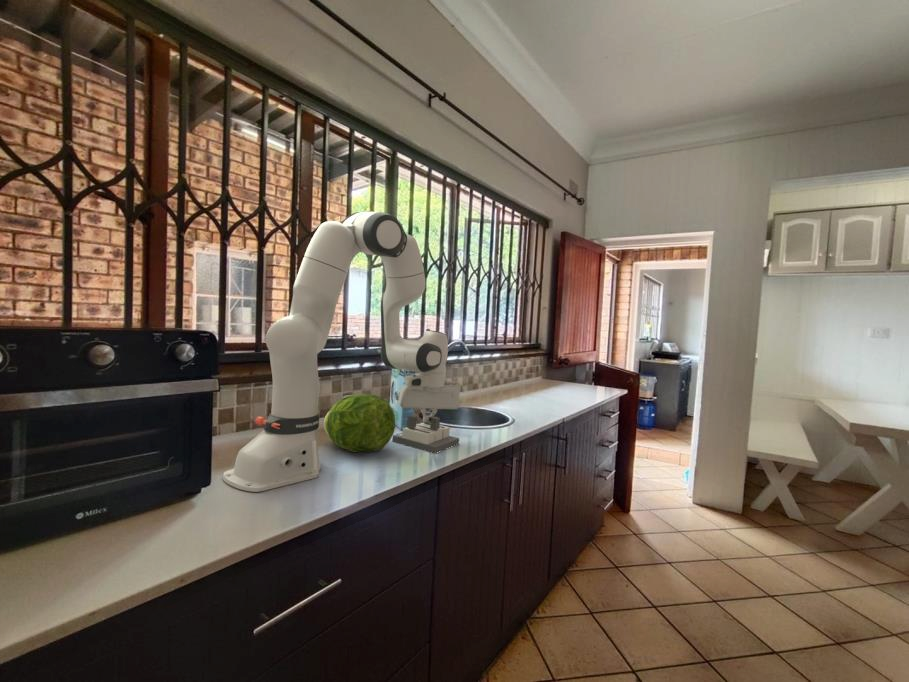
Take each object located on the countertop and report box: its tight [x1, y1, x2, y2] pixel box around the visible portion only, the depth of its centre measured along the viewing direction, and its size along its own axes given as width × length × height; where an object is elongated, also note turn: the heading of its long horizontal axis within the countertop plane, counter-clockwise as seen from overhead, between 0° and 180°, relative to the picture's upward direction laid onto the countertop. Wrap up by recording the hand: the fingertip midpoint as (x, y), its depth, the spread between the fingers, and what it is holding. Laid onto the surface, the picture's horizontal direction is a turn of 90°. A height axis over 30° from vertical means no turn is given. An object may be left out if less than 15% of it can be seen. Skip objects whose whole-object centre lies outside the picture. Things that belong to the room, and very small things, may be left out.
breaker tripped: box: [430, 416, 441, 430], centre depth 132 cm, size 2×2×4 cm
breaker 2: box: [422, 410, 432, 424], centre depth 139 cm, size 2×2×4 cm
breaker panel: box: [391, 422, 460, 454], centre depth 134 cm, size 14×17×5 cm
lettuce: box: [323, 393, 396, 454], centre depth 122 cm, size 17×23×17 cm
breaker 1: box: [407, 415, 418, 429], centre depth 131 cm, size 2×2×4 cm
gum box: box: [389, 369, 418, 431], centre depth 156 cm, size 20×5×23 cm, turn 22°
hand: (427, 421), depth 133 cm, fingers closed
